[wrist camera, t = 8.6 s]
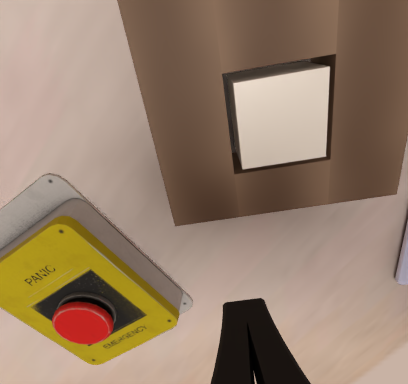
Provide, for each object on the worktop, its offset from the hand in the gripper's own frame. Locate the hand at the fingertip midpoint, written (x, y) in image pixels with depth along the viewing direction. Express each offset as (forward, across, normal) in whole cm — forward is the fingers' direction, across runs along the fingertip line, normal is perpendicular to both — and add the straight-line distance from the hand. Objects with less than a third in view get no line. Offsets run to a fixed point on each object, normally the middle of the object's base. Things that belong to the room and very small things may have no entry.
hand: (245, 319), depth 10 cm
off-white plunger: (+9, -3, -5) cm, 11 cm away
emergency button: (+10, +11, +5) cm, 16 cm away
